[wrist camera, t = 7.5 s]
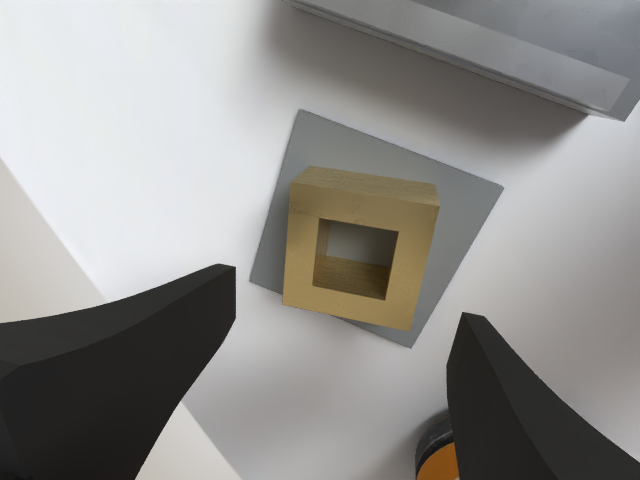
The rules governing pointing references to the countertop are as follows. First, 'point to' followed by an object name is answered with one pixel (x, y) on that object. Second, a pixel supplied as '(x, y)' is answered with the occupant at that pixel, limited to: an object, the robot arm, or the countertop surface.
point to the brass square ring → (348, 275)
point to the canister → (437, 453)
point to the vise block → (516, 43)
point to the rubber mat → (370, 242)
